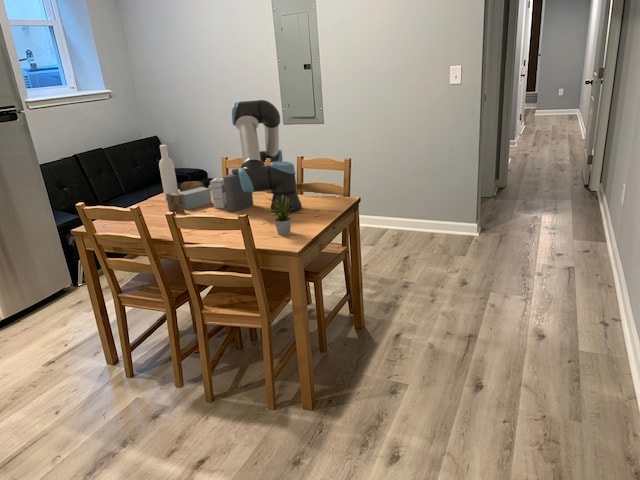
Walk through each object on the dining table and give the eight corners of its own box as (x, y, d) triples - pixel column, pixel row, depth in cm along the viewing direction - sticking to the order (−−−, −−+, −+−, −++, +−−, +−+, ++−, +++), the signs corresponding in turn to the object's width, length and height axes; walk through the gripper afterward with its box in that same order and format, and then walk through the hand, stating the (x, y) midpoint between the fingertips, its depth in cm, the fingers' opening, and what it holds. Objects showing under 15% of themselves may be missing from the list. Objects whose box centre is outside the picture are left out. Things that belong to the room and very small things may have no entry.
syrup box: (224, 208, 256) (220, 180, 252) (213, 208, 258) (209, 180, 253) (228, 205, 262) (224, 177, 257) (217, 205, 263) (214, 178, 258)
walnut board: (184, 211, 255) (181, 194, 252) (181, 212, 254) (178, 195, 251) (172, 209, 261) (169, 192, 258) (168, 210, 259) (165, 193, 256)
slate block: (212, 203, 268) (209, 188, 266) (186, 209, 259) (184, 194, 256) (204, 201, 274) (202, 186, 271) (179, 207, 265) (176, 192, 262)
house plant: (266, 228, 219) (262, 192, 213) (298, 225, 219) (295, 189, 214) (265, 239, 205) (261, 200, 200) (299, 236, 206) (296, 197, 200)
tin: (180, 196, 288) (178, 182, 285) (183, 195, 290) (180, 181, 288) (204, 196, 284) (202, 181, 281) (207, 195, 287) (204, 180, 284)
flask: (248, 204, 261) (243, 165, 254) (255, 205, 257) (251, 166, 250) (224, 211, 251) (219, 171, 245) (231, 212, 247) (226, 172, 241)
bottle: (161, 199, 283) (152, 146, 273) (170, 196, 290) (161, 143, 280) (173, 200, 280) (164, 146, 270) (182, 196, 287) (173, 143, 277)
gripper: (249, 186, 287) (218, 196, 270) (233, 184, 295) (202, 194, 278) (248, 173, 285) (216, 182, 267) (232, 172, 293) (200, 180, 275)
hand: (209, 188), depth 273 cm, fingers closed
